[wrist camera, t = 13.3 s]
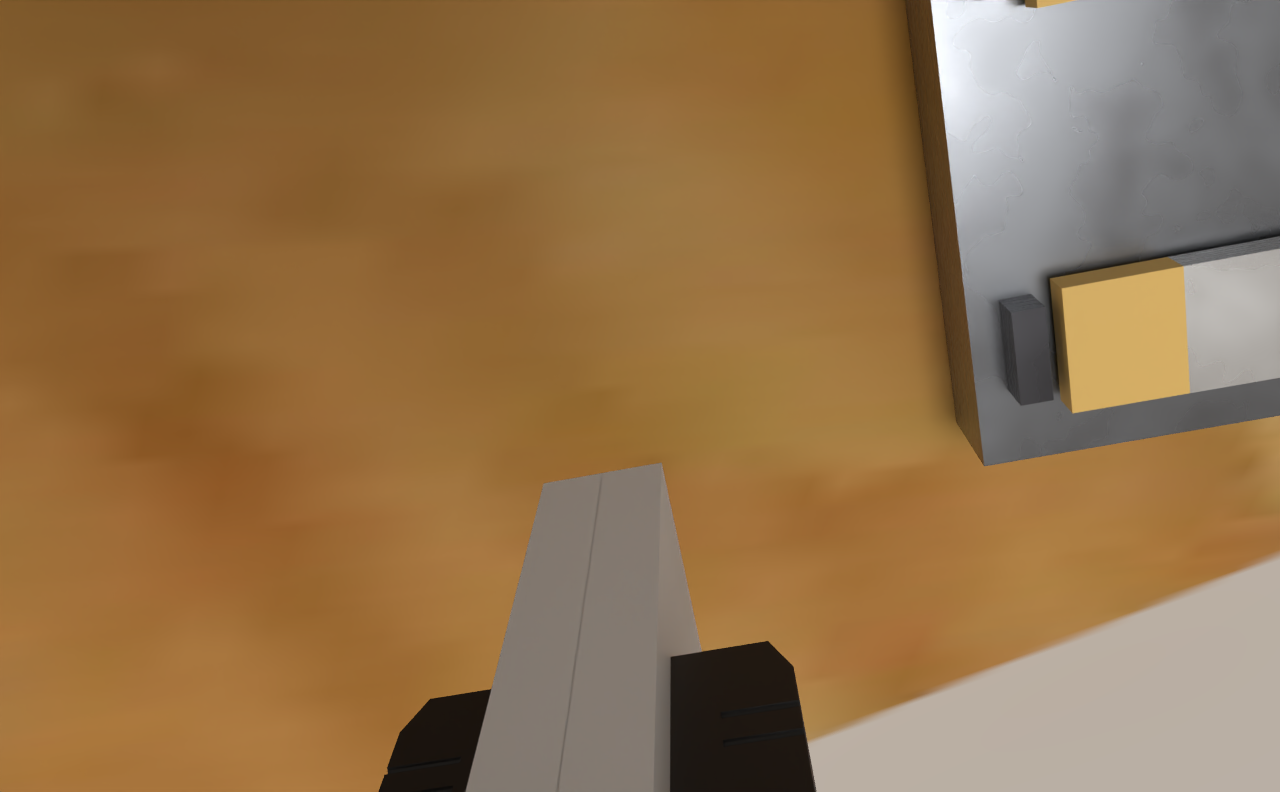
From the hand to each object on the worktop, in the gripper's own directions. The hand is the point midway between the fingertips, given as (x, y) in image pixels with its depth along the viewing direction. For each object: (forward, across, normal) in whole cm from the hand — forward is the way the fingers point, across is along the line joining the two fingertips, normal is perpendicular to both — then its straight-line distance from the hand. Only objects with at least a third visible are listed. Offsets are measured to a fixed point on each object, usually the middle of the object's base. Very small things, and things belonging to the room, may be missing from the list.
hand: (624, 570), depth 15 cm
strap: (+22, +20, -6) cm, 31 cm away
